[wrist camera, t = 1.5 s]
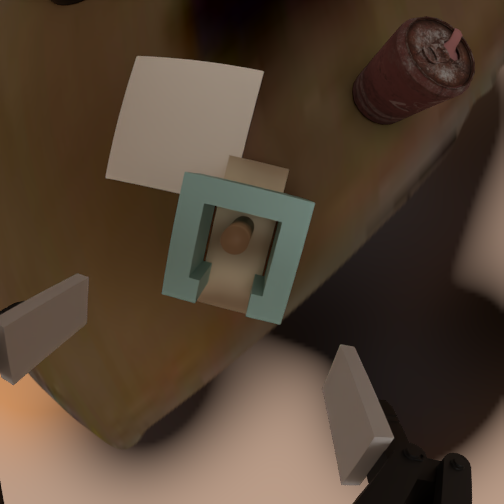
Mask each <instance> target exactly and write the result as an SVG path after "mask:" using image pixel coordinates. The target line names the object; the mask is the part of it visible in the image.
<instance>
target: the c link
mask: <svg viewBox="0 0 504 504" xmlns="http://www.w3.org/2000/svg"><path fill="white" fill-rule="evenodd" d="M314 205H315V203H314V202H312V201H310V200H308V199H304V198H301V197H297V196H293V195H289V194H285V193H281V192H277V191H274V190H270V189H265V188H261V187H257V186H253V185H249V184H245V183H241V182H236V181H232V180H228V179H223V178H219V177H214V176H210V175H205V174H200V173H191V172H185V173H184V177H183V182H182V186H181V191H180V196H179V200H178V205H177V210H176V215H175V220H174V225H173V231H172V236H171V241H170V247H169V252H168V258H167V264H166V270H165V276H164V282H163V289H162V294H164V295H167V296H171V297H174V298H178V299H182V300H185V301H189V302H192V303H195V302H196V301H197V299H198V298H199V296H200V294H201V293H202V291H203V290H204V288H205V286H206V285H207V283H208V280H209V275H210V270H211V266H212V263H210V262H206V261H203V259H204V254H205V249H206V245H207V240H208V235H209V231H210V226H211V222H212V217H213V213H214V208H215V206H218V207H222V208H227V209H231V210H235V211H239V212H243V213H247V214H251V215H255V216H259V217H263V218H267V219H271V220H275V221H279V222H278V226H277V229H276V233H275V237H274V241H273V245H272V249H271V253H270V256H269V260H268V264H267V268H266V272H265V275H264V276H261V275H257V274H255V277H254V280H253V284H252V288H251V292H250V297H249V302H248V307H247V312H246V317H250V318H254V319H259V320H263V321H267V322H271V323H275V324H281V321H282V318H283V315H284V311H285V308H286V305H287V301H288V298H289V295H290V291H291V288H292V284H293V281H294V278H295V274H296V271H297V267H298V264H299V260H300V257H301V253H302V249H303V246H304V242H305V239H306V235H307V231H308V228H309V224H310V220H311V216H312V213H313V209H314Z"/></svg>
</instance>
